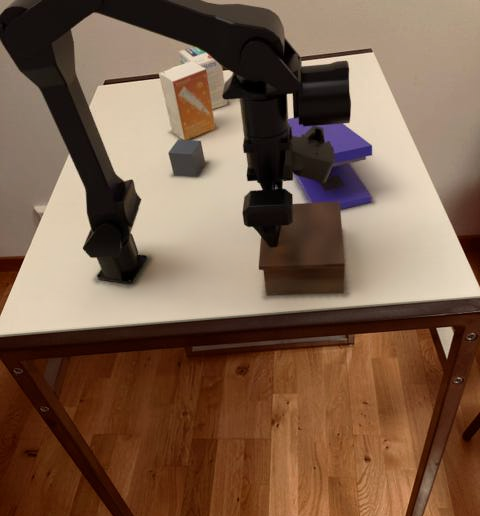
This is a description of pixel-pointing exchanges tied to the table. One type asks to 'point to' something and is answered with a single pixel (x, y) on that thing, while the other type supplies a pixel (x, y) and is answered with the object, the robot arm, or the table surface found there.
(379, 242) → the table surface
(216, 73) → the light bulb box
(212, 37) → the robot arm
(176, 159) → the block
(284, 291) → the chest
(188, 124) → the small box
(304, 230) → the lid
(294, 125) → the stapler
